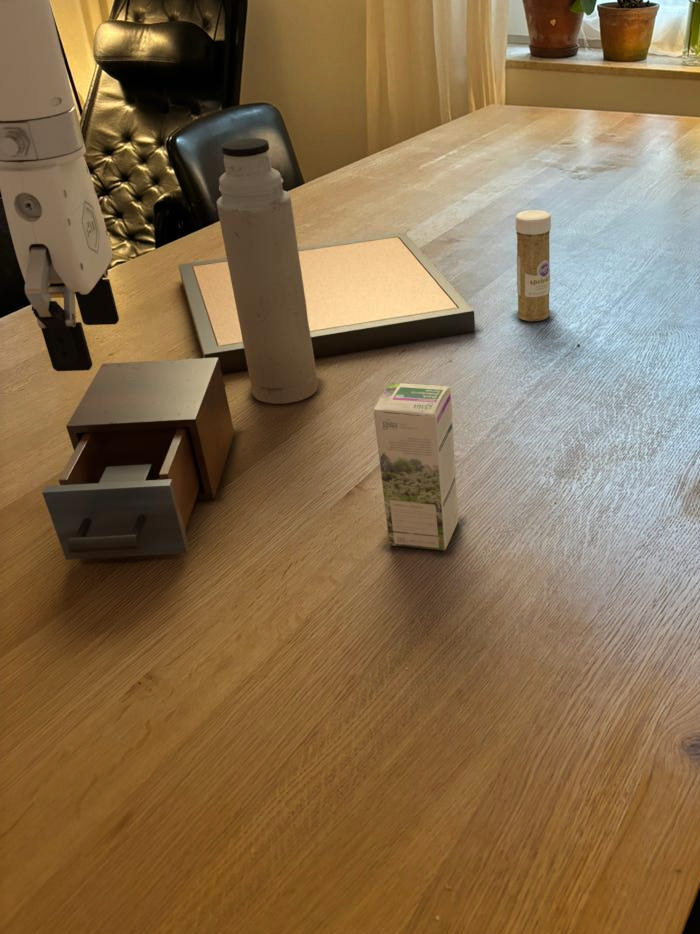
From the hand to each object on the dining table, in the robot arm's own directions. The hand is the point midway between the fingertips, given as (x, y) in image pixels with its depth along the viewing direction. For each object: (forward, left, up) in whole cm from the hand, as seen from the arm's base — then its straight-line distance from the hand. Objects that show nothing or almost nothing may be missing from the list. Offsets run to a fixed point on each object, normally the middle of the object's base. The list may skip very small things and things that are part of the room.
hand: (88, 345), depth 91 cm
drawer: (0, -3, -18) cm, 18 cm away
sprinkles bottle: (+43, +48, -19) cm, 68 cm away
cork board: (+13, +56, -19) cm, 61 cm away
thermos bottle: (+12, +29, -19) cm, 37 cm away
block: (0, -2, -17) cm, 17 cm away
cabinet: (0, +11, -19) cm, 22 cm away
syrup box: (+28, -5, -19) cm, 34 cm away
